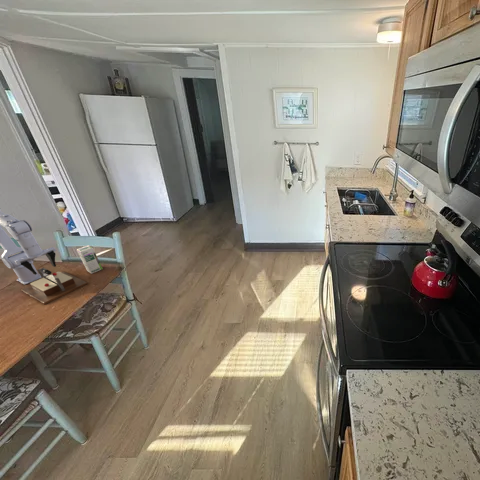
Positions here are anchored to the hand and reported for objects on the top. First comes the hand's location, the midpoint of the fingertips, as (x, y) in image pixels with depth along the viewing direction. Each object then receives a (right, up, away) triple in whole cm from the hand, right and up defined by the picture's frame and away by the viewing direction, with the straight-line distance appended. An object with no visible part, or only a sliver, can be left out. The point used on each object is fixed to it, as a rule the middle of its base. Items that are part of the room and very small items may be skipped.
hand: (45, 269), depth 133 cm
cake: (0, -9, +5) cm, 10 cm away
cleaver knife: (0, -5, +3) cm, 6 cm away
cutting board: (0, -10, +5) cm, 11 cm away
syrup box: (+9, -2, +19) cm, 21 cm away
